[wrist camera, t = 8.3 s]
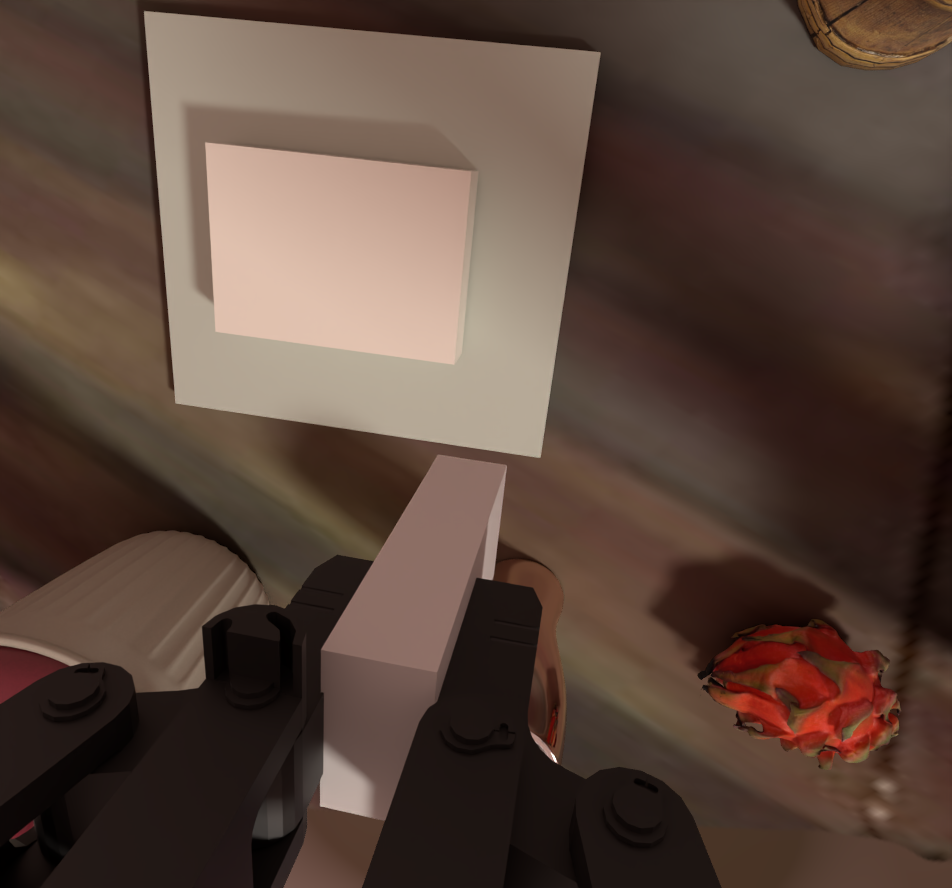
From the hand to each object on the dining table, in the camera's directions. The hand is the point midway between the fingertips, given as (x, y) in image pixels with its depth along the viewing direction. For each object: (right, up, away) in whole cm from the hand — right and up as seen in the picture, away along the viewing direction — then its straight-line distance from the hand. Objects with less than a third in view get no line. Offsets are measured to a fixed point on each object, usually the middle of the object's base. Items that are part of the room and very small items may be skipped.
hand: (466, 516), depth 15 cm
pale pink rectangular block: (0, +11, +22) cm, 25 cm away
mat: (-6, +13, +25) cm, 29 cm away
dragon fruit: (+21, -12, +31) cm, 40 cm away
